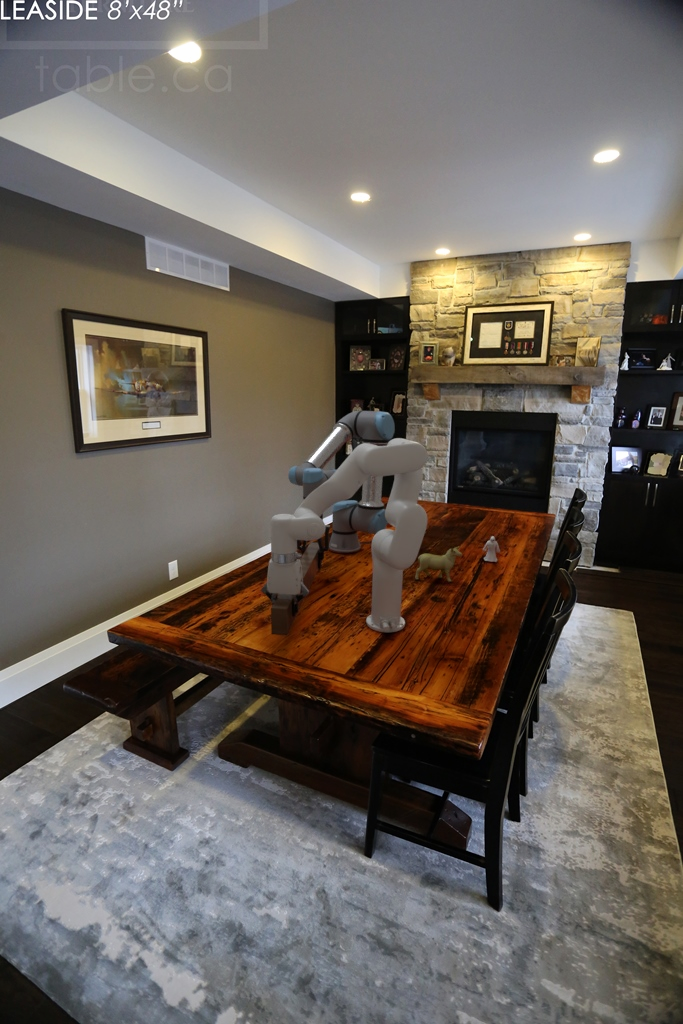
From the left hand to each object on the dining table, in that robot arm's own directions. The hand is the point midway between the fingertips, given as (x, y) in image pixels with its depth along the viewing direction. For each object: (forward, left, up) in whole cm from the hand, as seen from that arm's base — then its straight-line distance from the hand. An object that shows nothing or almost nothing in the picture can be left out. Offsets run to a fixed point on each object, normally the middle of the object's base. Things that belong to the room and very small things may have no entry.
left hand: (312, 567), depth 195 cm
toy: (-37, +33, -6) cm, 50 cm away
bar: (+19, +14, -1) cm, 23 cm away
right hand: (+37, +27, +2) cm, 46 cm away
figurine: (-75, +37, -6) cm, 84 cm away
